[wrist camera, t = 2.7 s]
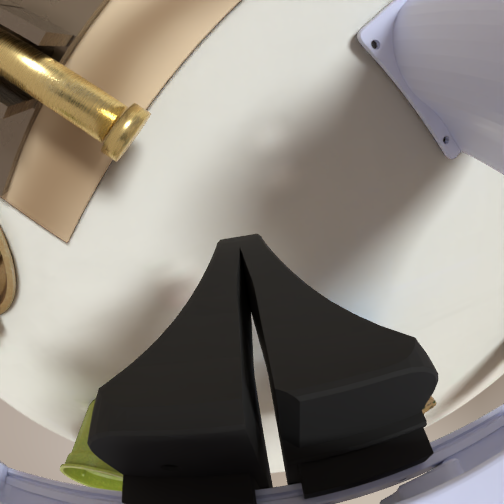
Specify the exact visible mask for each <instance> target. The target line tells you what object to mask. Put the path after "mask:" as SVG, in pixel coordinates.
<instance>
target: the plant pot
mask: <svg viewBox="0 0 504 504" xmlns="http://www.w3.org/2000/svg"><path fill="white" fill-rule="evenodd" d="M94 403H95V400H94V401H93V402H92V403H91V404H90V405H89V408H88V410H87V413H86V415H85V418H84V421H83V423H82V426H81V429H80V431H79V434H78V436H77V439H76V442H75V445H74V447H73V450H72V452H71V453H70V454H69V455H68V457H67V460H66V462H65V464H62V465H61V466H60V471H61V472H62V473H63V474H64V475H66V476H67V477H69V478H71V479H72V480H74V481H76V482H78V483H81V484H83V485H86V486H88V487H92V488H99V489H106V490H115V491H122V485H123V474H121V473H120V472H118V471H117V470H115V469H114V468H112V467H111V466H109V465H108V464H106V463H105V462H104V461H102V460H101V459H99V458H98V457H97V456H96V455H95V454H94V453H93V452H92V451H91V450H90V448H89V446H88V444H87V441H88V434H89V429H90V423H91V417H92V412H93V407H94Z"/></svg>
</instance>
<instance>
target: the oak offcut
mask: <svg viewBox="0 0 504 504" xmlns="http://www.w3.org/2000/svg"><path fill="white" fill-rule="evenodd" d="M240 1H241V0H110V1H109V3H108V4H107V5H106V6H105V8H104V9H103V10H102V11H101V13H100V14H99V15H98V17H97V18H96V19H95V21H94V22H93V23H92V25H91V26H90V28H89V29H88V30H87V32H86V33H85V35H84V36H83V38H82V39H81V40H80V42H79V43H78V45H77V46H76V48H75V50H74V51H73V53H72V54H71V56H70V57H69V59H68V61H67V62H66V64H65V66H66V67H67V68H69V69H70V70H72V71H74V72H75V73H77V74H78V75H80V76H81V77H83V78H85V79H86V80H88V81H89V82H91V83H92V84H94V85H96V86H97V87H99V88H100V89H102V90H103V91H105V92H106V93H108V94H109V95H111V96H112V97H114V98H115V99H117V100H118V101H120V102H121V103H123V104H124V105H126V106H127V107H128V108H129V107H130V106H131V105H132V104H134V103H136V104H138V105H139V106H141V107H142V108H144V109H145V110H147V108H148V107H149V105H150V104H151V103H152V101H153V100H154V99H155V97H156V96H157V95H158V93H159V92H160V91H161V89H162V88H163V87H164V85H165V84H166V83H167V82H168V80H169V79H170V78H171V77H172V75H173V74H174V73H175V72H176V70H177V69H178V68H179V67H180V66H181V64H182V63H183V62H184V61H185V60H186V58H187V57H188V56H189V55H190V54H191V53H192V51H193V50H194V49H195V48H196V47H197V46H198V45H199V44H200V42H201V41H202V40H203V39H204V38H205V37H206V36H207V35H208V34H209V33H210V32H211V30H212V29H213V28H214V27H215V26H216V25H217V24H218V23H219V22H220V21H221V20H222V19H223V18H224V17H225V16H226V15H227V14H228V13H229V12H230V11H231V10H232V9H233V8H234V7H235V6H236V5H237V4H238V3H239V2H240ZM128 108H127V109H128ZM103 143H104V142H103ZM103 143H101V142H99V141H98V140H96V139H95V138H93V137H92V136H90V135H89V134H87V133H86V132H84V131H83V130H81V129H80V128H78V127H77V126H75V125H74V124H72V123H71V122H69V121H68V120H66V119H65V118H63V117H62V116H60V115H59V114H57V113H56V112H54V111H53V110H51V109H50V108H48V107H47V106H45V105H44V104H43V106H42V108H41V110H40V112H39V114H38V116H37V118H36V120H35V122H34V124H33V127H32V129H31V131H30V133H29V136H28V138H27V140H26V143H25V145H24V148H23V150H22V152H21V155H20V158H19V160H18V163H17V166H16V168H15V171H14V174H13V177H12V180H11V183H10V186H9V189H8V192H6V193H5V194H4V195H3V196H0V197H2V198H3V199H4V200H6V201H7V202H8V203H10V204H11V205H12V206H14V207H15V208H17V209H18V210H19V211H21V212H22V213H24V214H25V215H26V216H28V217H29V218H31V219H32V220H34V221H35V222H37V223H38V224H39V225H41V226H42V227H44V228H45V229H47V230H48V231H50V232H51V233H53V234H54V235H56V236H57V237H59V238H60V239H62V240H63V241H65V242H66V243H67V242H68V241H69V239H70V238H71V235H72V233H73V231H74V229H75V227H76V225H77V223H78V221H79V219H80V217H81V215H82V214H83V212H84V210H85V208H86V206H87V204H88V202H89V200H90V198H91V197H92V195H93V193H94V191H95V189H96V188H97V186H98V184H99V182H100V181H101V179H102V177H103V176H104V174H105V172H106V170H107V169H108V167H109V165H110V164H111V162H112V161H113V159H111V158H110V157H108V156H107V155H105V154H104V153H102V152H101V147H102V145H103Z"/></svg>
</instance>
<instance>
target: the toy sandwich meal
mask: <svg viewBox="0 0 504 504" xmlns="http://www.w3.org/2000/svg"><path fill="white" fill-rule="evenodd" d="M15 290H16V277H15V269H14V264H13V260H12V256H11V253H10V250H9V247H8V244H7V241H6V238H5V236H4V233H3V231H2V229H1V227H0V315H1V314H2V313H4V312H5V311H7V310H8V308H9V307H10V306H11V304H12V302H13V299H14V296H15Z"/></svg>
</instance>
